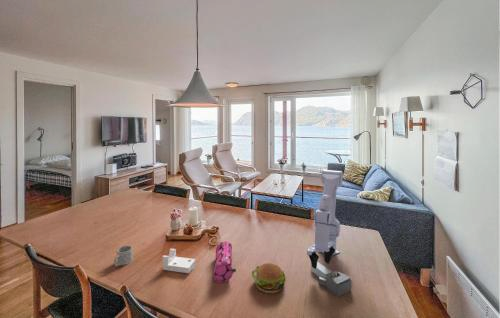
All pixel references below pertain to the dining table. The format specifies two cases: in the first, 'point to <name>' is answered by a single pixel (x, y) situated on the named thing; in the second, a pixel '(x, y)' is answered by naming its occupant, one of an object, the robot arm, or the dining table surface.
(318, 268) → the white rectangular block
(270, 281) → the food
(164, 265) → the bracket
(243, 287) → the dining table surface
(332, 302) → the dining table surface
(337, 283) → the endcap
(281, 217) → the dining table surface
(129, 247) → the mug
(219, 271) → the pencil case
